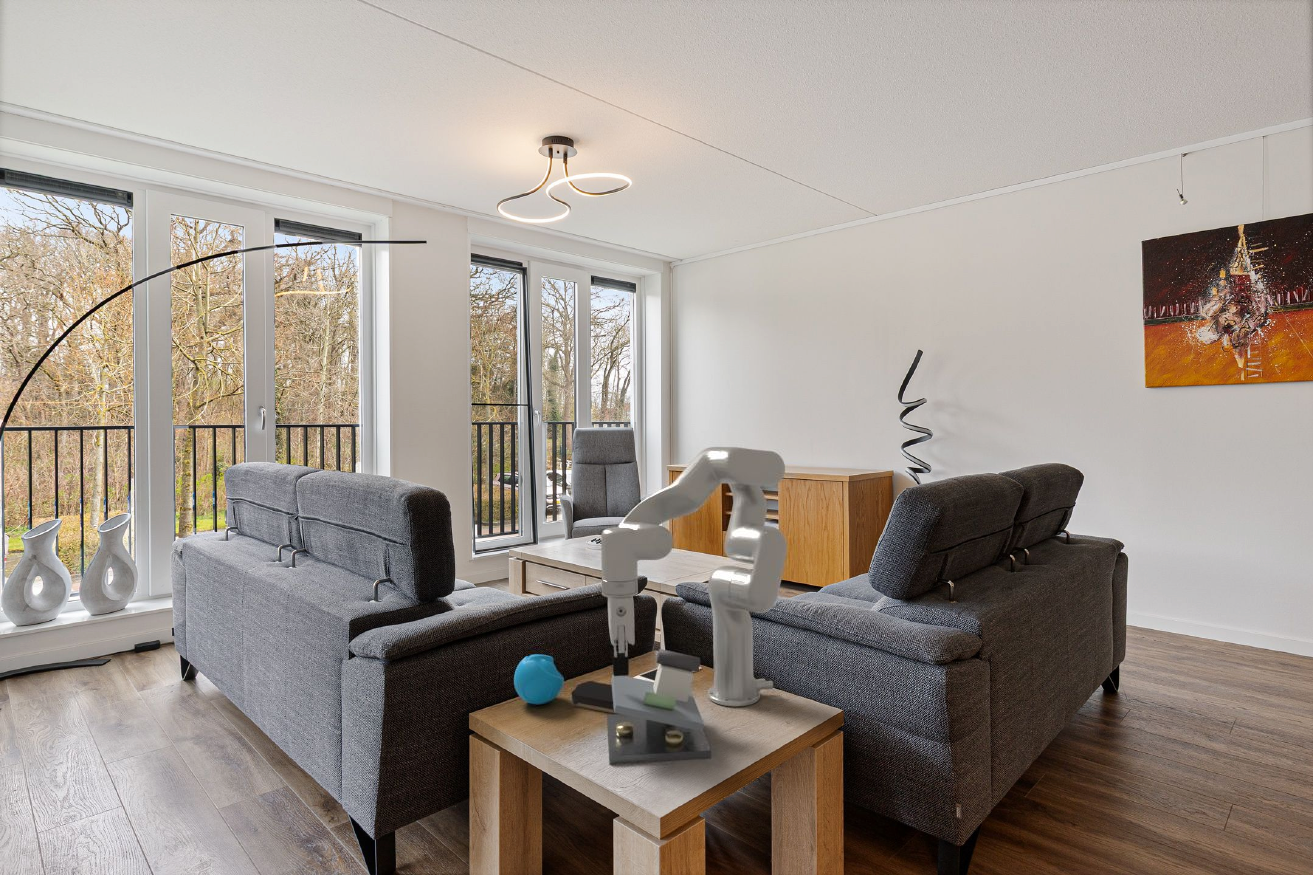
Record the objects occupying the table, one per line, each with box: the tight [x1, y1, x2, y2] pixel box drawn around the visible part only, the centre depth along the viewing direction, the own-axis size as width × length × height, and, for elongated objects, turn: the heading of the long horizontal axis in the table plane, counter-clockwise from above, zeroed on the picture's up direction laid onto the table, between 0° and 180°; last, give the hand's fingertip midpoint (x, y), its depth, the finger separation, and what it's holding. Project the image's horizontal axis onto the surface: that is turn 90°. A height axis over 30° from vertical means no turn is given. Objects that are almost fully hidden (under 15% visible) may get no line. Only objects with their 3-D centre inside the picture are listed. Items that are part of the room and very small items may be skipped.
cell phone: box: [633, 666, 702, 682], centre depth 182 cm, size 9×18×1 cm, turn 137°
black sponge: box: [570, 680, 618, 714], centre depth 162 cm, size 16×8×4 cm, turn 62°
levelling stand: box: [606, 713, 712, 765], centre depth 143 cm, size 20×20×5 cm
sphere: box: [513, 654, 565, 705], centre depth 164 cm, size 12×11×12 cm
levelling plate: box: [611, 648, 705, 731], centre depth 143 cm, size 18×18×12 cm
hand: (620, 674), depth 143 cm, fingers closed
